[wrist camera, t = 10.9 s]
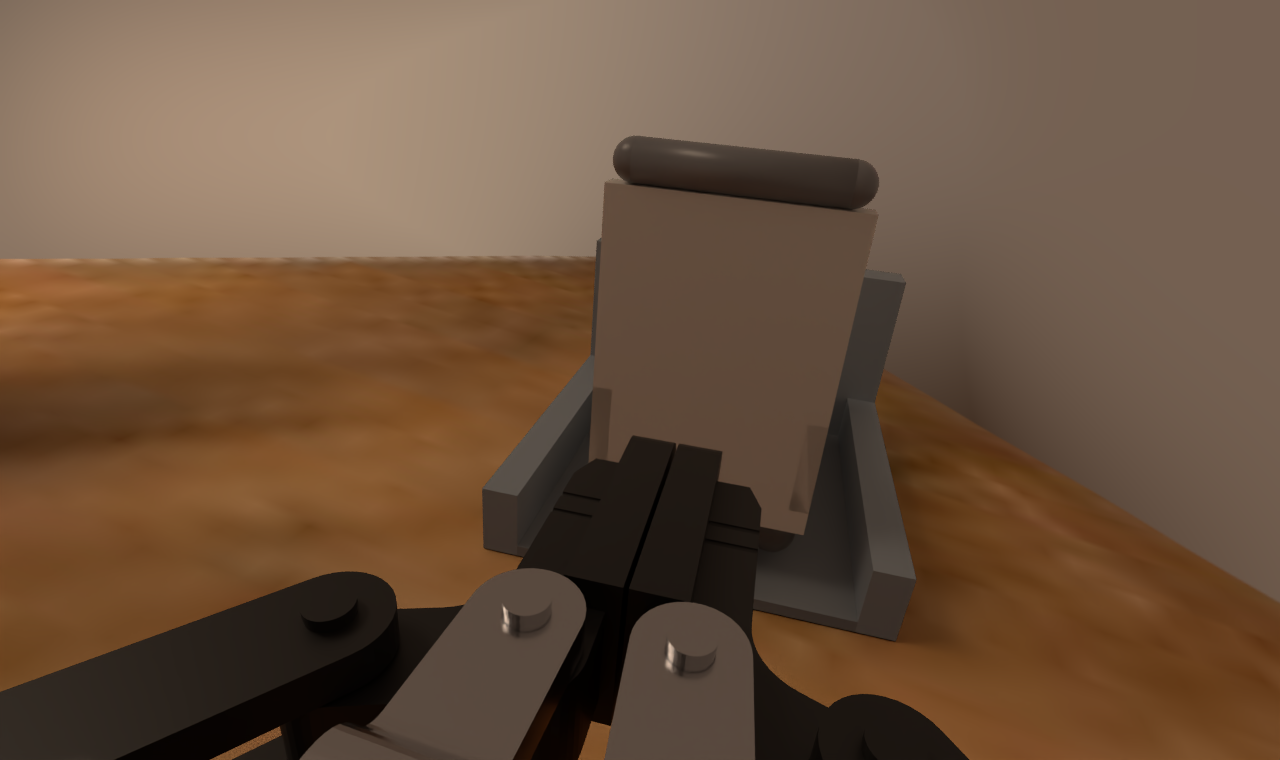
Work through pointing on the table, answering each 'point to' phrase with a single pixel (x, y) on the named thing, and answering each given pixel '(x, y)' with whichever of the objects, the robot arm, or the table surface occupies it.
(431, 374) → the table surface
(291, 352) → the table surface
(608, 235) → the toy cart
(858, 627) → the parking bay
